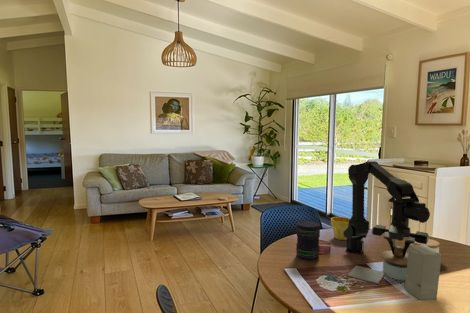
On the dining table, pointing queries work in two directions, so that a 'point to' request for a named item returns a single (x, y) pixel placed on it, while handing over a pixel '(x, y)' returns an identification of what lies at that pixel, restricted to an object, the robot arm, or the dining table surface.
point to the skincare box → (423, 272)
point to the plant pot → (339, 226)
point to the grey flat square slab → (366, 274)
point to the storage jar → (308, 240)
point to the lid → (395, 256)
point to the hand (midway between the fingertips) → (398, 255)
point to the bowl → (394, 270)
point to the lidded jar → (430, 244)
